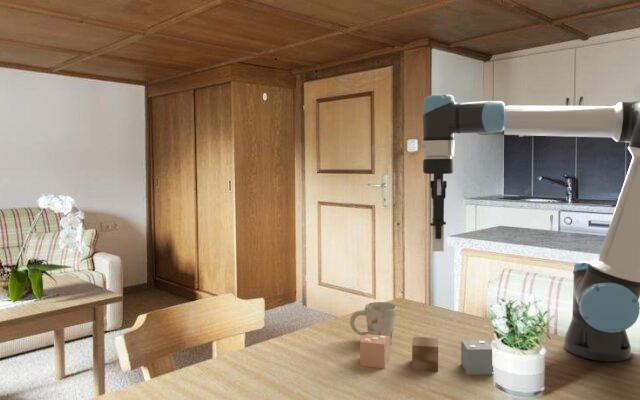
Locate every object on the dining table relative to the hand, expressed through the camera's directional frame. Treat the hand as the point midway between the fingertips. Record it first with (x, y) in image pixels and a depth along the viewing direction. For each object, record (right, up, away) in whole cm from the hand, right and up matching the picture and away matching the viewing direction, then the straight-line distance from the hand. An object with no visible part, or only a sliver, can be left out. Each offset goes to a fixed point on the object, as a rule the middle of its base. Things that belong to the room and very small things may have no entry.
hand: (438, 250), depth 136 cm
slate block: (+7, -27, -10) cm, 30 cm away
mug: (-16, -26, +9) cm, 32 cm away
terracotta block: (-17, -27, -5) cm, 32 cm away
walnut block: (-5, -27, -7) cm, 28 cm away
